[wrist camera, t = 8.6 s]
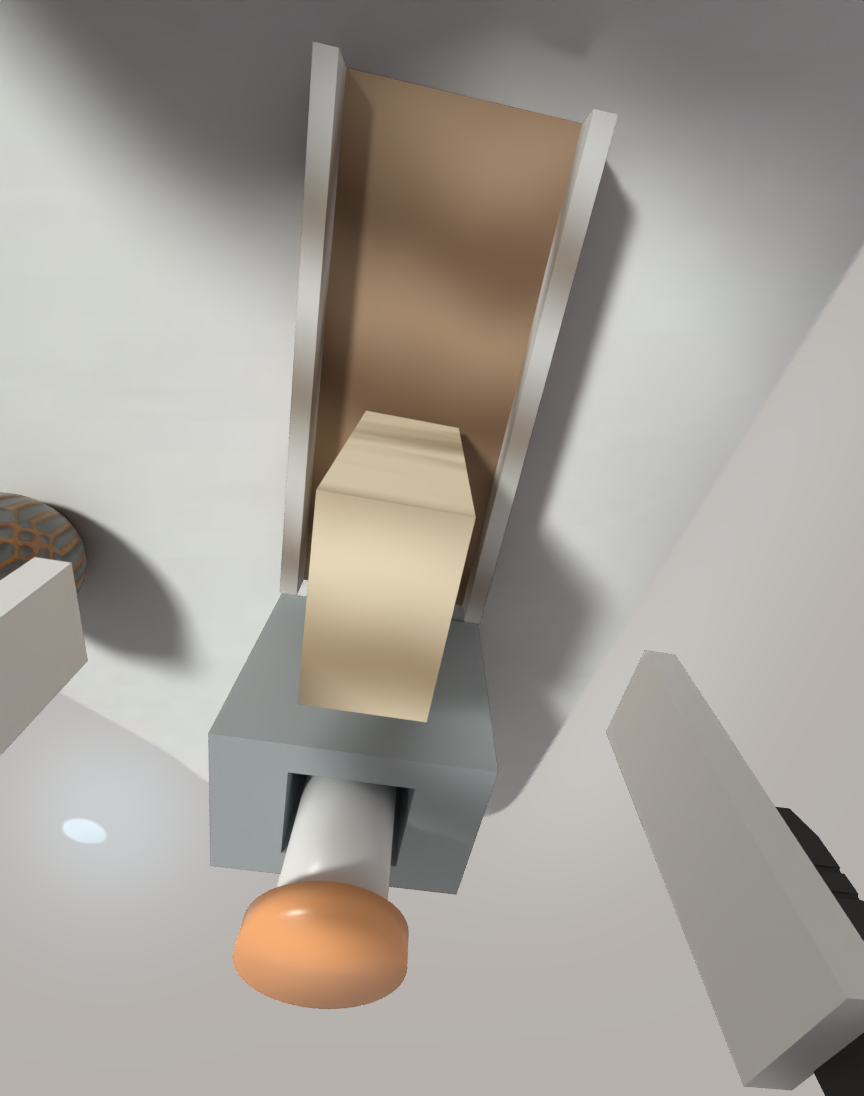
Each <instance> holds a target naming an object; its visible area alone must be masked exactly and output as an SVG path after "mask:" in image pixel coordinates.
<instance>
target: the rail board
mask: <svg viewBox="0 0 864 1096" xmlns="http://www.w3.org/2000/svg"><path fill="white" fill-rule="evenodd" d="M617 117H618V114H614V113H610V112H606V111H602V110H597V109H594V110H593V111H592V112H591V113H590V114H589V116H588V117H587V118H586V119H585V120H584V122H583V123H578V122H573V121H569V120H565V119H561V118H556V117H552V116H548V115H544V114H540V113H535V112H531V111H527V110H523V109H518V108H514V107H510V106H506V105H502V104H497V103H493V102H489V101H485V100H480V99H476V98H472V97H468V96H464V95H459V94H455V93H451V92H447V91H443V90H438V89H434V88H430V87H426V86H421V85H417V84H413V83H409V82H405V81H400V80H396V79H392V78H388V77H383V76H379V75H375V74H371V73H367V72H362V71H358V70H354V69H350V68H346V65H345V62H344V60H343V57H342V54H341V52H340V49H339V47H335V46H330V45H326V44H322V43H318V42H314V41H313V48H312V65H311V81H310V98H309V115H308V131H307V148H306V164H305V181H304V198H303V214H302V231H301V247H300V264H299V280H298V297H297V314H296V330H295V347H294V363H293V380H292V397H291V413H290V430H289V446H288V463H287V480H286V496H285V513H284V529H283V546H282V562H281V579H280V592H281V593H287V594H293V595H297V593H298V591H299V589H300V587H301V584H302V582H303V580H308V578H309V566H310V555H311V544H312V532H313V521H314V510H315V498H316V489H317V488H318V486H319V485H320V483H321V482H322V480H323V478H324V477H325V475H326V474H327V472H328V470H329V469H330V467H331V466H332V464H333V462H334V461H335V459H336V458H337V456H338V455H339V453H340V451H341V450H342V448H343V447H344V445H345V443H346V442H347V440H348V439H349V437H350V435H351V434H352V432H353V431H354V429H355V427H356V426H357V424H358V423H359V421H360V420H361V418H362V416H363V415H364V413H365V412H366V411H371V412H376V413H381V414H387V415H392V416H397V417H403V418H408V419H413V420H419V421H424V422H430V423H435V424H440V425H446V426H451V427H456V428H459V432H460V437H461V443H462V448H463V453H464V458H465V464H466V469H467V474H468V480H469V485H470V490H471V495H472V501H473V506H474V511H475V517H476V518H475V523H474V527H473V531H472V535H471V539H470V543H469V548H468V552H467V556H466V560H465V564H464V568H463V572H462V577H461V581H460V585H459V589H458V593H457V597H456V602H455V604H460V605H463V615H464V621H465V622H471V623H478V624H480V622H481V618H482V615H483V611H484V607H485V603H486V600H487V596H488V592H489V589H490V585H491V581H492V578H493V574H494V570H495V567H496V563H497V559H498V556H499V552H500V548H501V544H502V541H503V537H504V533H505V530H506V526H507V522H508V519H509V515H510V511H511V508H512V504H513V500H514V497H515V493H516V489H517V485H518V482H519V478H520V474H521V471H522V467H523V463H524V460H525V456H526V452H527V449H528V445H529V441H530V438H531V434H532V430H533V426H534V423H535V419H536V415H537V412H538V408H539V404H540V401H541V397H542V393H543V390H544V386H545V382H546V379H547V375H548V371H549V367H550V364H551V360H552V356H553V353H554V349H555V345H556V342H557V338H558V334H559V331H560V327H561V323H562V320H563V316H564V312H565V308H566V305H567V301H568V297H569V294H570V290H571V286H572V283H573V279H574V275H575V272H576V268H577V264H578V261H579V257H580V253H581V249H582V246H583V242H584V238H585V235H586V231H587V227H588V224H589V220H590V216H591V213H592V209H593V205H594V202H595V198H596V194H597V190H598V187H599V183H600V179H601V176H602V172H603V168H604V165H605V161H606V157H607V154H608V150H609V146H610V143H611V139H612V135H613V131H614V128H615V124H616V120H617Z"/></svg>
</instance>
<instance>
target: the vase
mask: <svg viewBox="0 0 864 1096" xmlns="http://www.w3.org/2000/svg"><path fill="white" fill-rule="evenodd" d="M34 557H37V558H44V559H50V560H57V561H63V562H70V563H72V568H73V574H74V581H75V587H76V593H78V591H79V589H80V587H81V585H82V582H83V579H84V576H85V572H86V553H85V548H84V545H83V542H82V540H81V538H80V536H79V534H78V532H77V531H76V529H75V528H74V527H73V525H72V524H71V523H70V522H69V521H68V520H67V519H66V518H65V517H64V516H63V515H62V514H60V513H59V512H58V511H56V510H55V509H53V508H52V507H50V506H48V505H46V504H44V503H42V502H40V501H38V500H35V499H32V498H29V497H26V496H22V495H18V494H12V493H0V580H2V579H3V578H5V577H6V576H8V575H9V574H11V573H12V572H14V571H15V570H16V569H18V568H19V567H21V566H22V565H24V564H25V563H27V562H28V561H30V560H31V559H33V558H34Z"/></svg>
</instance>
